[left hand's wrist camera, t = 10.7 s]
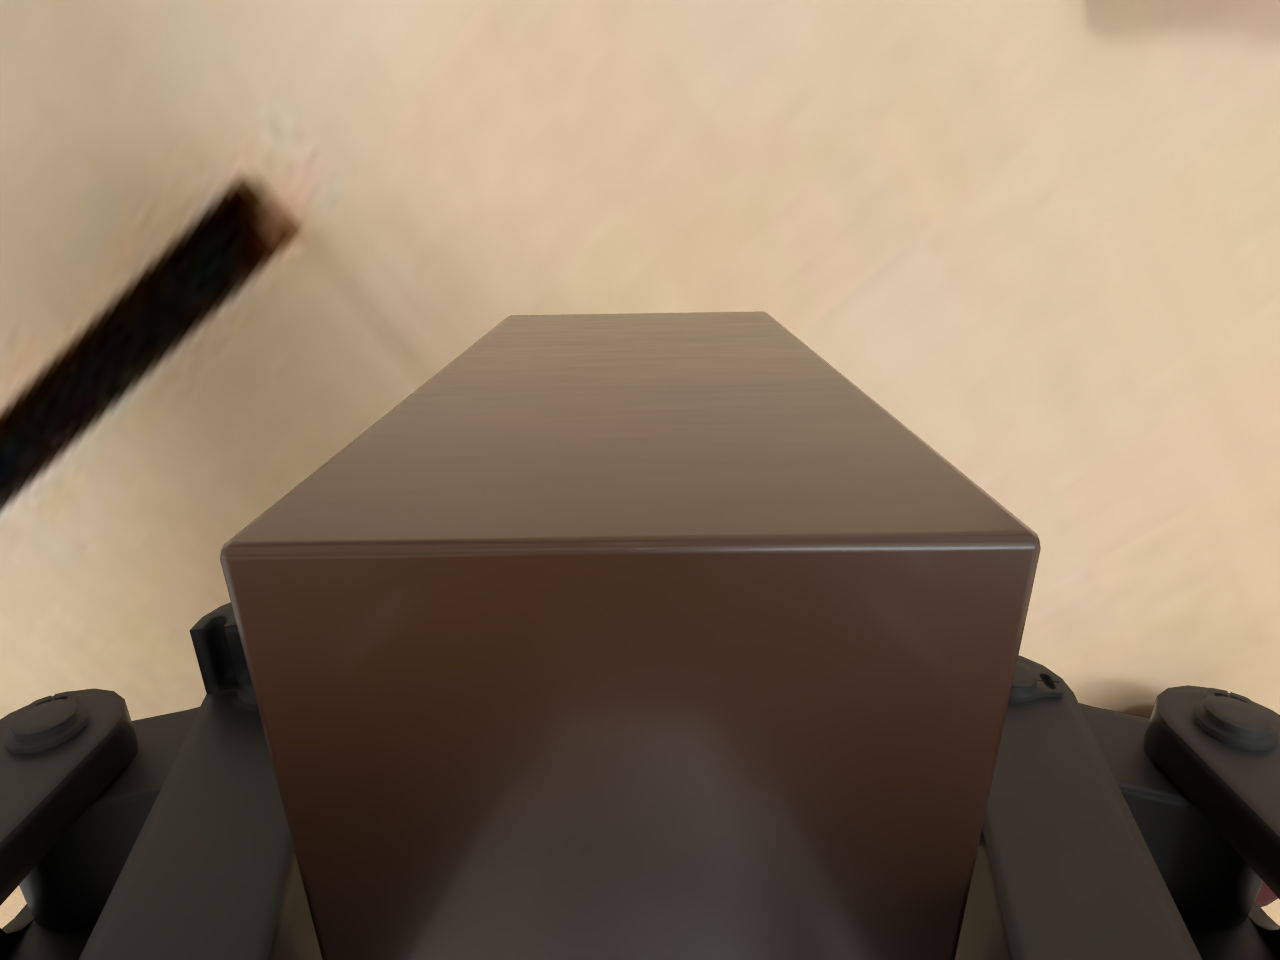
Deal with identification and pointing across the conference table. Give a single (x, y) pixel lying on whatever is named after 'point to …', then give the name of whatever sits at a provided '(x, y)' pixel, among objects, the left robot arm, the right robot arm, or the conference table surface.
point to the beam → (634, 657)
